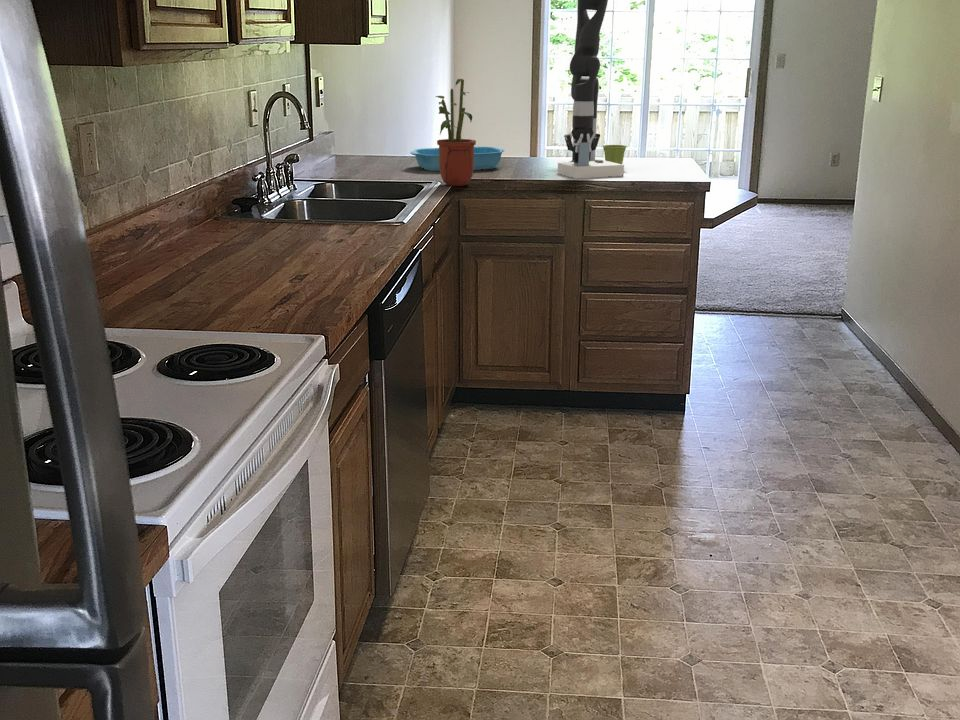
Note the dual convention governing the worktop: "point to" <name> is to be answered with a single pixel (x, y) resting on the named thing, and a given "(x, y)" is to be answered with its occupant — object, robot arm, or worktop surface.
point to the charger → (583, 154)
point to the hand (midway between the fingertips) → (581, 162)
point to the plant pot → (614, 153)
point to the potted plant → (455, 146)
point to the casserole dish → (482, 158)
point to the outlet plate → (591, 169)
